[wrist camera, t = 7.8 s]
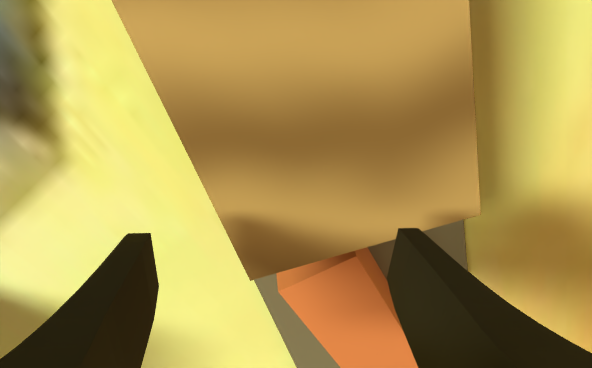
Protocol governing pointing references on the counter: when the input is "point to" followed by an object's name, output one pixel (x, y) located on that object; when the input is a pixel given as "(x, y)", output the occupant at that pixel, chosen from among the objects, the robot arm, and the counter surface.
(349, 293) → the vermilion block
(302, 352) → the slate board
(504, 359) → the robot arm
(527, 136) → the counter surface
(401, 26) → the oak crate
